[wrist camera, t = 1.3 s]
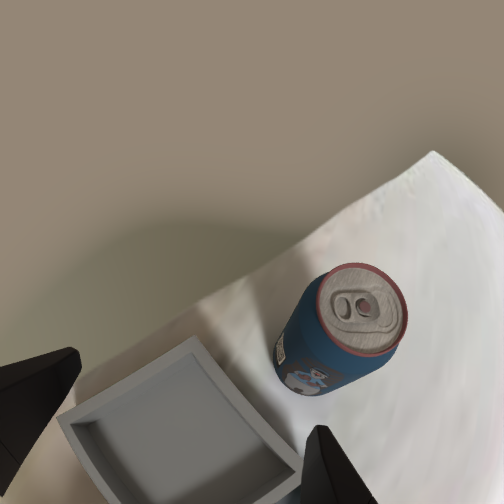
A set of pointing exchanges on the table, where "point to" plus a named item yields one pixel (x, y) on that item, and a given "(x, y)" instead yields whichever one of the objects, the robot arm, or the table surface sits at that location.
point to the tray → (180, 437)
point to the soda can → (340, 330)
